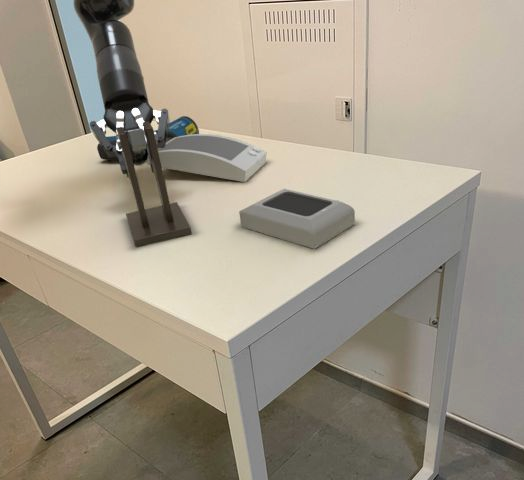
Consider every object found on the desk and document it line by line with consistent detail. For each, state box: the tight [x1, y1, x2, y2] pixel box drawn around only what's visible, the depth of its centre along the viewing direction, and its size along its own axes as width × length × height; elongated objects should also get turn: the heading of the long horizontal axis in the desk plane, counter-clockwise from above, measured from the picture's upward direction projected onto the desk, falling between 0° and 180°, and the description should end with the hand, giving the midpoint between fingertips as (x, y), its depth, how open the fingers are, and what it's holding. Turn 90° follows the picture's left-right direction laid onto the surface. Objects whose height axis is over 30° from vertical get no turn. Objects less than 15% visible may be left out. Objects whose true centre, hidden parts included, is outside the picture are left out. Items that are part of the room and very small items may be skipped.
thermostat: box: [147, 133, 267, 183], centre depth 109 cm, size 11×21×6 cm, turn 68°
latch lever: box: [128, 128, 148, 166], centre depth 87 cm, size 13×4×4 cm, turn 17°
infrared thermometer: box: [96, 115, 200, 161], centre depth 123 cm, size 6×13×20 cm
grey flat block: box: [238, 188, 356, 250], centre depth 84 cm, size 10×4×15 cm
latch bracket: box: [116, 121, 193, 248], centre depth 86 cm, size 12×9×16 cm
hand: (141, 171), depth 92 cm, fingers closed on latch lever, 3 cm apart
